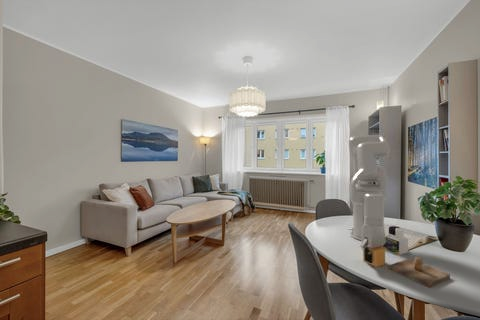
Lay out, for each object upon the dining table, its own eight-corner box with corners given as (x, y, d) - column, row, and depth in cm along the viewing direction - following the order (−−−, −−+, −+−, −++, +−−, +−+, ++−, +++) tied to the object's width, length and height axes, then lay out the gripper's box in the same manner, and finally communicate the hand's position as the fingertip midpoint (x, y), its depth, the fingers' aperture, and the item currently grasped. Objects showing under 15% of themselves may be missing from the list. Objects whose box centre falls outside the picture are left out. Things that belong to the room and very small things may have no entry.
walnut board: (389, 268, 88) (389, 254, 88) (409, 261, 94) (409, 248, 93) (429, 287, 75) (429, 271, 75) (450, 278, 81) (450, 263, 81)
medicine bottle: (384, 249, 106) (384, 226, 106) (393, 246, 109) (393, 224, 109) (399, 255, 100) (398, 230, 99) (408, 252, 102) (408, 228, 102)
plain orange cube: (363, 260, 95) (363, 245, 95) (372, 258, 97) (371, 243, 97) (376, 267, 89) (376, 251, 89) (385, 264, 92) (385, 248, 92)
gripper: (378, 216, 100) (378, 252, 100) (352, 221, 93) (353, 260, 93) (394, 220, 93) (395, 259, 93) (368, 226, 86) (368, 268, 87)
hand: (374, 259), depth 93 cm, fingers open, 6 cm apart
